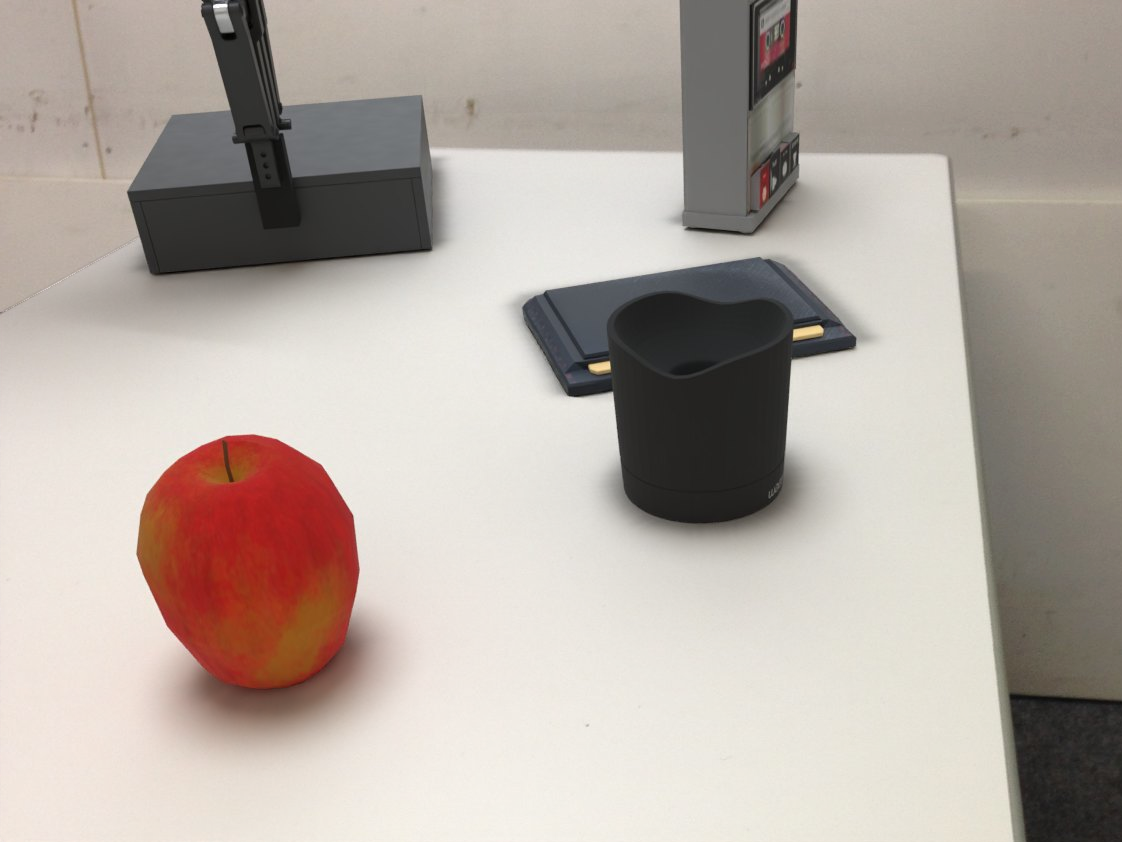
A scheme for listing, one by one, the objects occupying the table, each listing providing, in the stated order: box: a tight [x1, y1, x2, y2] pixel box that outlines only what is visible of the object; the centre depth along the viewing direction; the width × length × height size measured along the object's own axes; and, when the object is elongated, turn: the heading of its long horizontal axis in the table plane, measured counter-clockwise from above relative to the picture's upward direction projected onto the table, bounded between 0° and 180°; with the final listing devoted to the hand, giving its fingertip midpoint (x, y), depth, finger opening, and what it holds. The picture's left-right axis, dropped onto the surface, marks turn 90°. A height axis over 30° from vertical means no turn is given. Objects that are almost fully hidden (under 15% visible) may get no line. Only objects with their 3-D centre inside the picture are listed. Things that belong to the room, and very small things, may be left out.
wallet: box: [521, 256, 857, 397], centre depth 87 cm, size 20×2×15 cm
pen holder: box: [607, 291, 794, 525], centre depth 67 cm, size 9×9×10 cm
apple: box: [135, 433, 361, 690], centre depth 56 cm, size 9×9×12 cm
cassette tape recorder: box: [679, 0, 800, 234], centre depth 100 cm, size 14×6×25 cm, turn 159°
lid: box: [126, 94, 433, 274], centre depth 107 cm, size 22×21×6 cm
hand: (282, 224), depth 98 cm, fingers closed
